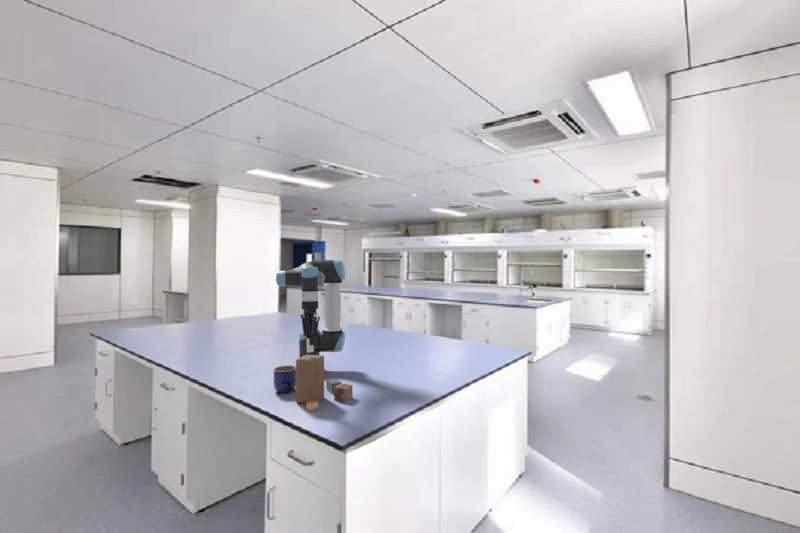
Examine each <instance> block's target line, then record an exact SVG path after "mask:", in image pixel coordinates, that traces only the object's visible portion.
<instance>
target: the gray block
mask: <svg viewBox="0 0 800 533" xmlns="http://www.w3.org/2000/svg"><path fill="white" fill-rule="evenodd" d="M341 383H342V381H340V379H337V378H331V379H326V385H325V386H326V391H327V392H329V393H330V394H331V395H333V394H334V387H336V386H338V385H340V384H341ZM342 384H343V383H342Z"/></svg>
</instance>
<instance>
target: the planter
mask: <svg viewBox="0 0 800 533" xmlns="http://www.w3.org/2000/svg"><path fill="white" fill-rule="evenodd" d="M273 387H274V390H275V391H276V392H277V393H279V394H287V393H288V392H289V393H291V392H293V391H294V390H296V365H280V366H277V367H274V368H273ZM289 393H288V394H289Z"/></svg>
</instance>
